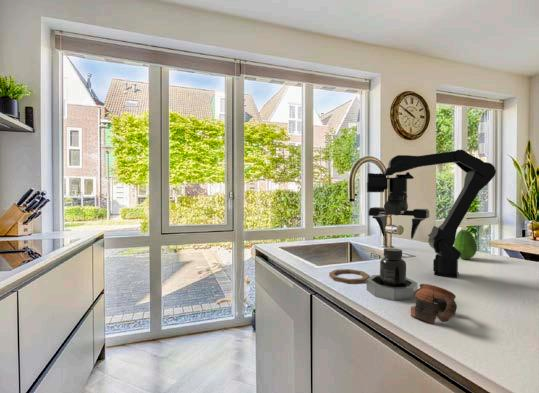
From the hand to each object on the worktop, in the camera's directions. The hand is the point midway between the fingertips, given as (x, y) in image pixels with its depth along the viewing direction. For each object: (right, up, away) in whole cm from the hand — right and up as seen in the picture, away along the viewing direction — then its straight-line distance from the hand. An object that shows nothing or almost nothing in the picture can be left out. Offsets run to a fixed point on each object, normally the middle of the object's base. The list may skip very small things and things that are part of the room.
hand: (397, 237), depth 104 cm
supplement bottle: (-10, -13, -20) cm, 26 cm away
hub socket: (-10, -13, -20) cm, 25 cm away
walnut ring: (-18, -12, -6) cm, 23 cm away
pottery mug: (-7, -13, -37) cm, 40 cm away
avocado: (+35, -11, +18) cm, 41 cm away
